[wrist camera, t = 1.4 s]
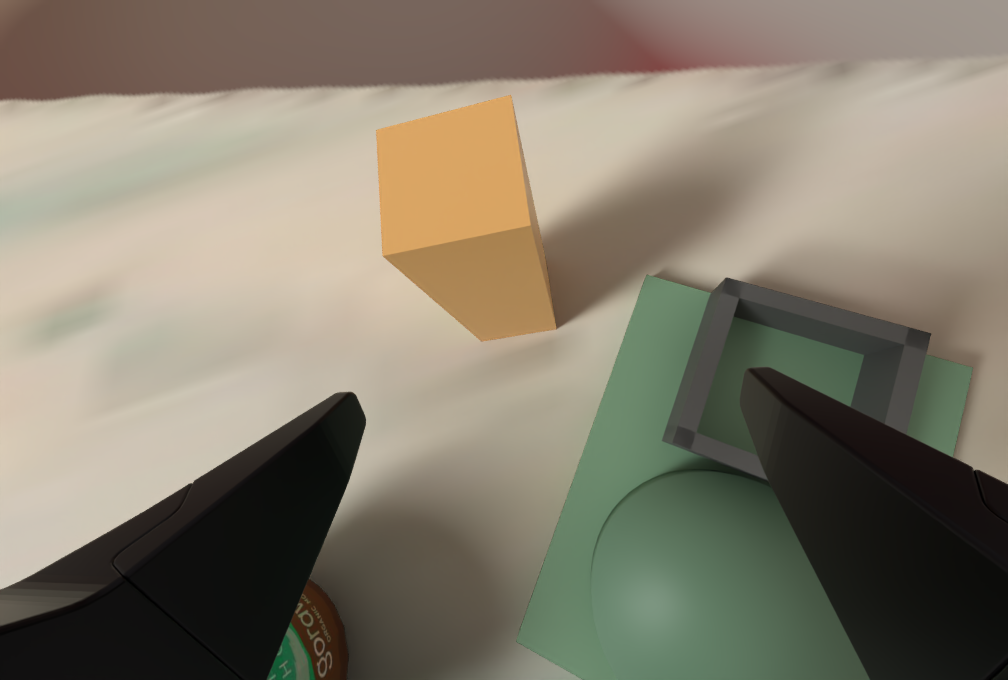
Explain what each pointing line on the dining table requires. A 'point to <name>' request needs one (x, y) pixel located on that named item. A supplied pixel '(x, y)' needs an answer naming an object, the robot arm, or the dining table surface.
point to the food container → (313, 641)
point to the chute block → (466, 218)
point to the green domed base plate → (716, 490)
